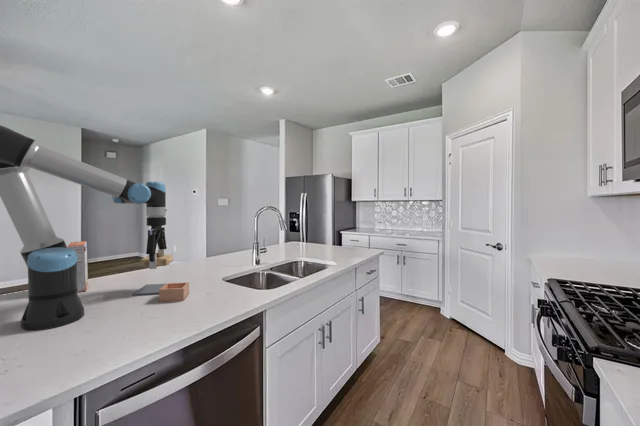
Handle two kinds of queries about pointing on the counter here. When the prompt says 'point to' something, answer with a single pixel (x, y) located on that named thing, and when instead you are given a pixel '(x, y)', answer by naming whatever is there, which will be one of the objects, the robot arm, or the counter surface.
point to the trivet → (149, 289)
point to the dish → (174, 292)
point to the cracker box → (81, 264)
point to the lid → (157, 260)
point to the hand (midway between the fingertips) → (157, 266)
